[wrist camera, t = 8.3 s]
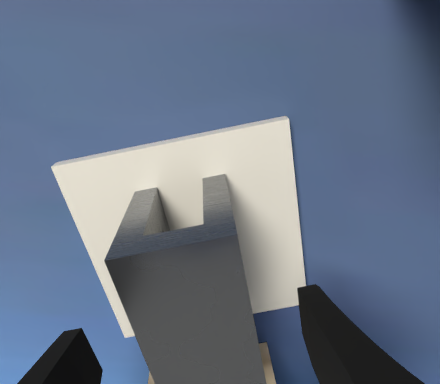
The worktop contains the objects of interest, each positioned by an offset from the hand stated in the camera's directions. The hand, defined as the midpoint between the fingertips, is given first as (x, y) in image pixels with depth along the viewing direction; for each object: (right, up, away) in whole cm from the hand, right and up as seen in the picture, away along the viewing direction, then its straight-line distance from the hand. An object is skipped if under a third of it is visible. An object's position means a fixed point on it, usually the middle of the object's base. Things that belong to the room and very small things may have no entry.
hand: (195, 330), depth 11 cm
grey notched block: (0, +2, +5) cm, 5 cm away
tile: (0, +2, +5) cm, 6 cm away
